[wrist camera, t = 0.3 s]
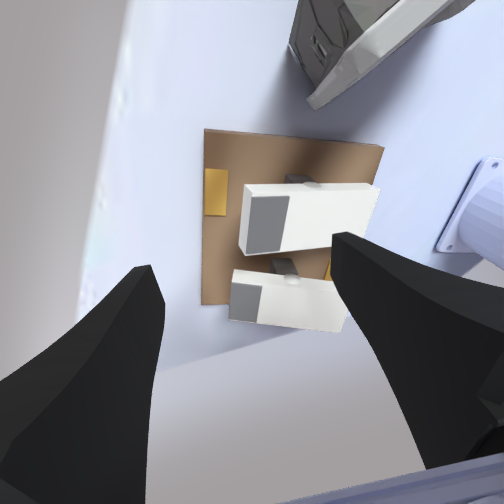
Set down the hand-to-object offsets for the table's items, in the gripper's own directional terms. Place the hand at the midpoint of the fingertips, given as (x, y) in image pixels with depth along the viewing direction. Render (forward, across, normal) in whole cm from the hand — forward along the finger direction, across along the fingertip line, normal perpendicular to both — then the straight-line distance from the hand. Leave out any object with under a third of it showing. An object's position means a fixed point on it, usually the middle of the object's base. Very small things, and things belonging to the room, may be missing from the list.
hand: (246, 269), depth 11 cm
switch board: (+9, -4, +4) cm, 11 cm away
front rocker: (+5, -4, +1) cm, 7 cm away
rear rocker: (+5, -3, +7) cm, 9 cm away
